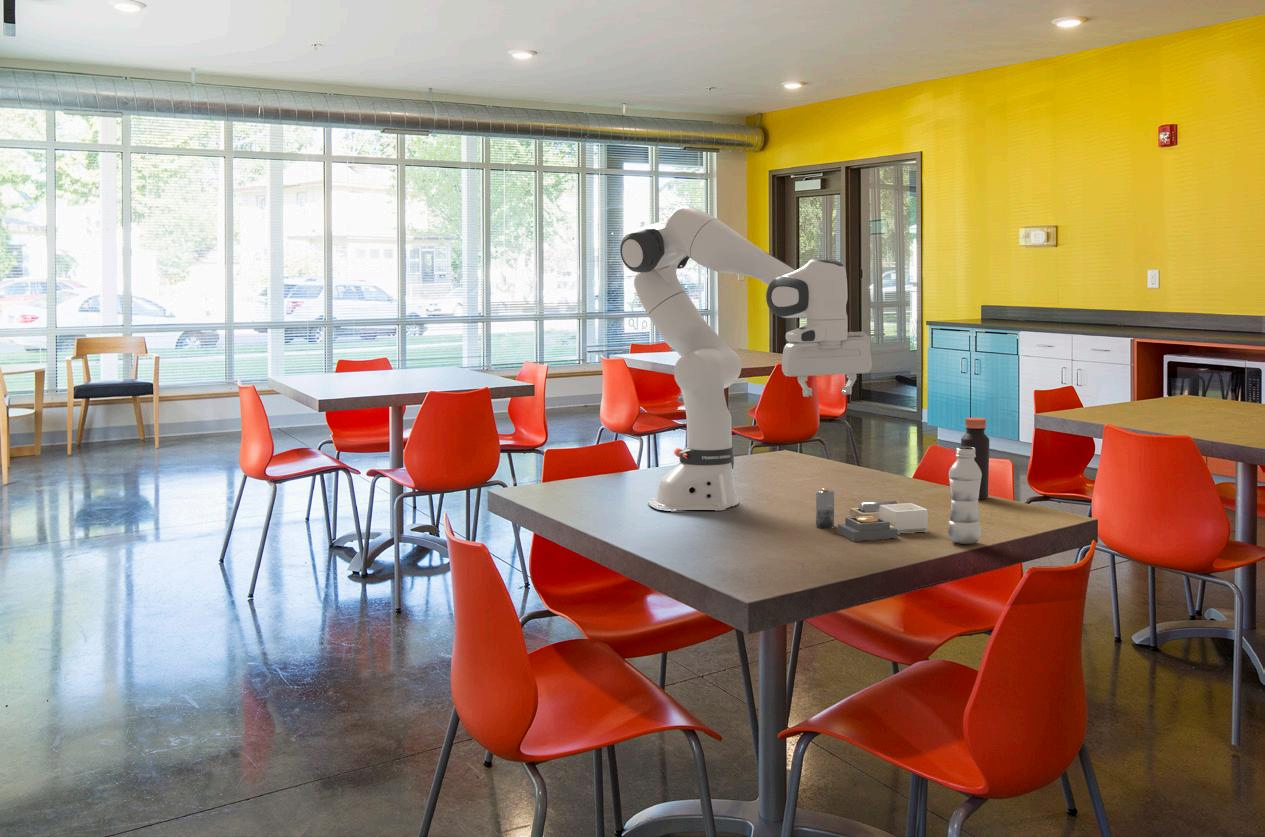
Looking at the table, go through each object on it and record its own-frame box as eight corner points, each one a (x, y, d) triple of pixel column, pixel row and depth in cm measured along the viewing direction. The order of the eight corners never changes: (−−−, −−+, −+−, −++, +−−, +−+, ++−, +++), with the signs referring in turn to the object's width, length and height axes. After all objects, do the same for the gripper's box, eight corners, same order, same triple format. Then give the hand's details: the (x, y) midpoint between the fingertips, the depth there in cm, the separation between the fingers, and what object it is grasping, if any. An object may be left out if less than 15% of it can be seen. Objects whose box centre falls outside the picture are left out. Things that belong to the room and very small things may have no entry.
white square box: (895, 534, 229) (895, 511, 228) (879, 527, 236) (879, 505, 235) (927, 532, 230) (927, 509, 230) (910, 524, 238) (911, 503, 237)
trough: (861, 527, 236) (862, 513, 236) (850, 521, 242) (850, 508, 242) (907, 523, 239) (907, 510, 238) (894, 518, 245) (894, 505, 244)
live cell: (865, 522, 237) (866, 504, 237) (858, 518, 241) (858, 501, 241) (901, 519, 239) (901, 502, 239) (892, 516, 243) (893, 499, 243)
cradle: (853, 541, 223) (853, 525, 223) (837, 533, 231) (838, 517, 230) (897, 538, 225) (897, 522, 225) (880, 530, 233) (880, 514, 233)
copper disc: (862, 524, 225) (862, 520, 225) (852, 520, 229) (852, 516, 229) (882, 523, 226) (882, 519, 226) (872, 518, 230) (872, 515, 230)
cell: (820, 529, 235) (820, 490, 234) (813, 525, 239) (813, 487, 238) (836, 527, 236) (837, 489, 235) (829, 524, 240) (829, 486, 239)
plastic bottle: (987, 545, 218) (989, 449, 215) (958, 548, 216) (960, 451, 213) (969, 538, 224) (971, 445, 222) (940, 541, 222) (942, 446, 220)
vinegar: (988, 495, 269) (990, 417, 266) (987, 500, 263) (989, 420, 260) (961, 494, 271) (962, 416, 269) (958, 499, 265) (960, 419, 263)
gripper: (863, 330, 238) (863, 391, 240) (778, 333, 233) (779, 396, 235) (877, 331, 232) (876, 394, 234) (789, 334, 227) (790, 398, 229)
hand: (827, 395), depth 234 cm, fingers open, 8 cm apart
